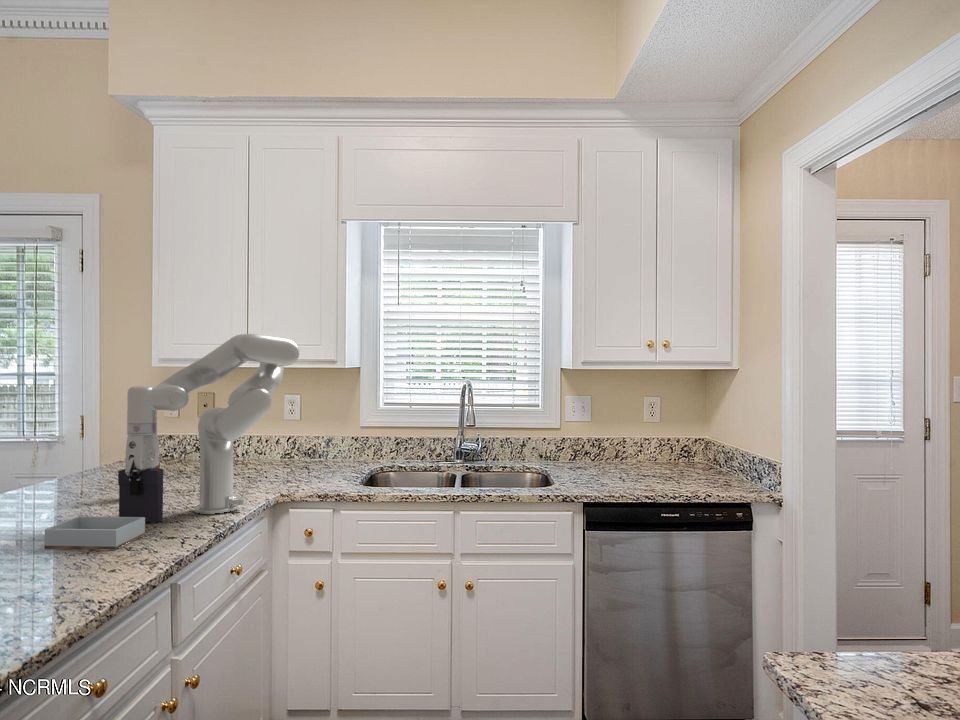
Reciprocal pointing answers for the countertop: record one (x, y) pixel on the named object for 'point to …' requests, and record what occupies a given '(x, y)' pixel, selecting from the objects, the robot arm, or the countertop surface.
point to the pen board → (89, 546)
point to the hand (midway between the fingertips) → (141, 492)
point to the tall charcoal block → (142, 496)
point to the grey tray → (95, 531)
